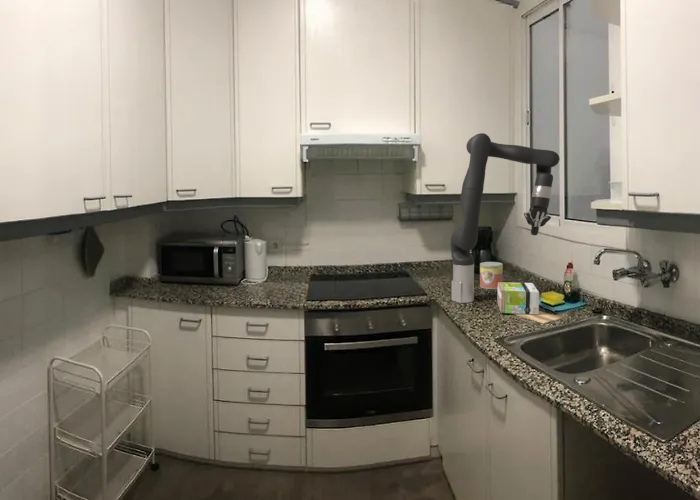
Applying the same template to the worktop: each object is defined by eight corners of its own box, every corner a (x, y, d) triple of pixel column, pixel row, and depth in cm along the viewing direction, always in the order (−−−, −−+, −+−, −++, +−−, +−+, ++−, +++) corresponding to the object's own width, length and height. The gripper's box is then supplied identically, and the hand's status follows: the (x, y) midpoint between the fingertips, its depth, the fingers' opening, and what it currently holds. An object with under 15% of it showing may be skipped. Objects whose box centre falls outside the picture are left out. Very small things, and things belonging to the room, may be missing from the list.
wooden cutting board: (544, 323, 163) (544, 322, 163) (502, 311, 180) (502, 310, 180) (563, 318, 168) (563, 317, 168) (521, 306, 185) (521, 305, 185)
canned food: (476, 287, 222) (476, 264, 221) (484, 283, 231) (484, 261, 229) (498, 290, 215) (498, 266, 214) (505, 285, 224) (505, 262, 222)
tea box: (539, 290, 170) (500, 290, 174) (539, 315, 172) (500, 314, 175) (532, 282, 185) (496, 281, 188) (532, 304, 186) (496, 304, 190)
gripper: (548, 198, 197) (541, 236, 199) (523, 194, 194) (516, 232, 196) (559, 199, 190) (551, 237, 192) (533, 194, 187) (526, 234, 189)
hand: (533, 235), depth 194 cm, fingers closed
